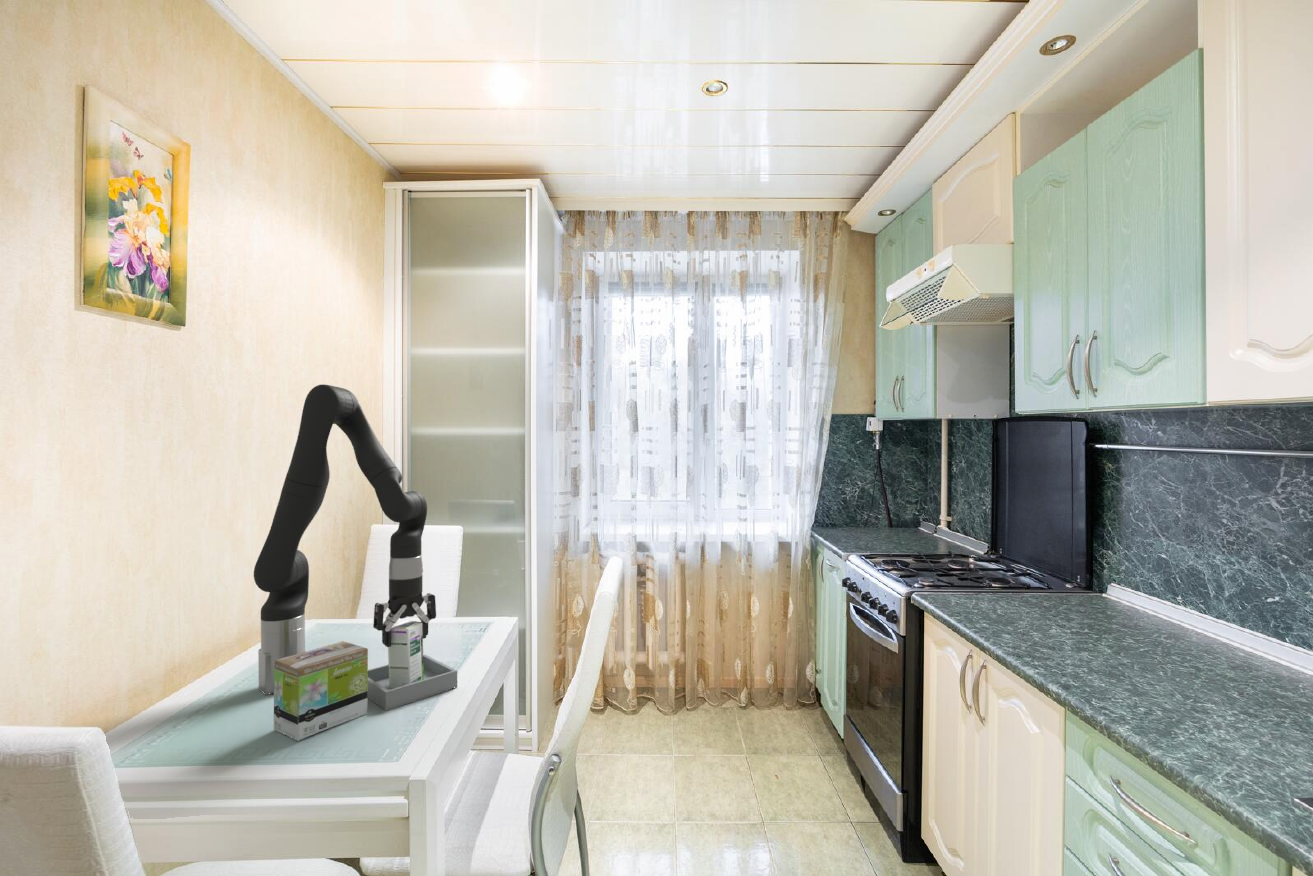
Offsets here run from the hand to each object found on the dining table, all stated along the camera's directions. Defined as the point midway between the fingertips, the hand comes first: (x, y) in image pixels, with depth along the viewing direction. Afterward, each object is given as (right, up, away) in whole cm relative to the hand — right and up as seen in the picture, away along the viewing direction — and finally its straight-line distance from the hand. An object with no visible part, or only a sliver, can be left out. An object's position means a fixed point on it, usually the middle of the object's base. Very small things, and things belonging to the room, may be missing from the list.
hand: (405, 642), depth 146 cm
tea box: (-11, -12, -17) cm, 23 cm away
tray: (0, -11, 0) cm, 11 cm away
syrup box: (0, -10, 0) cm, 10 cm away
